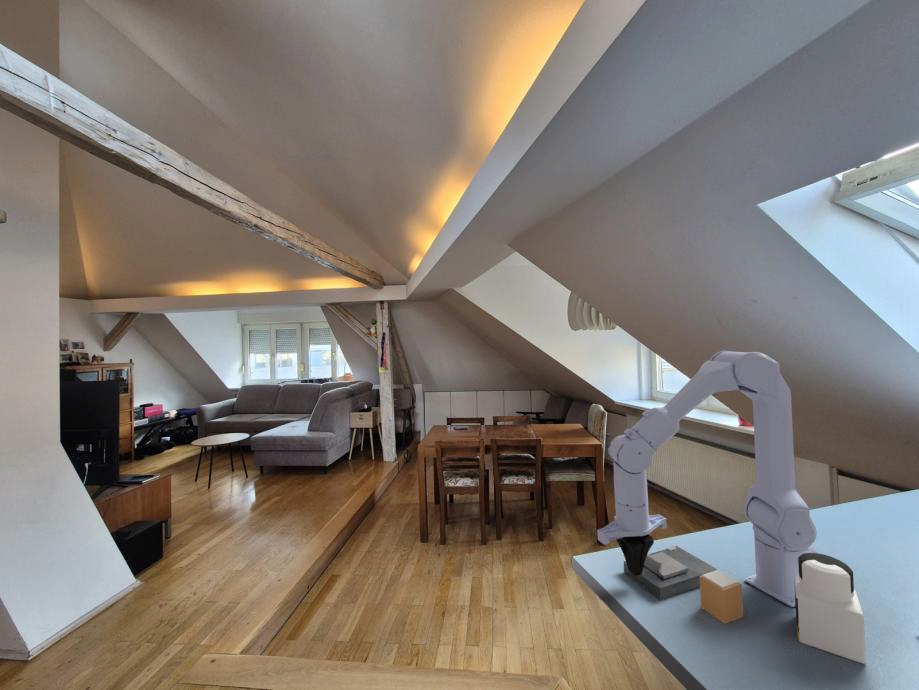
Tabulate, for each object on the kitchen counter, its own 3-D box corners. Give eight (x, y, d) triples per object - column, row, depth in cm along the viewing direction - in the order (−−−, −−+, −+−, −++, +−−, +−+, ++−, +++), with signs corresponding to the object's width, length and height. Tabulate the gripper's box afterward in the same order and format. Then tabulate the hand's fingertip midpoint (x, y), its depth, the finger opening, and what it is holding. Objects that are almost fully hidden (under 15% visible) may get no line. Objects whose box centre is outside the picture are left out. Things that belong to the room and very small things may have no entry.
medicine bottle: (795, 614, 63) (792, 542, 63) (857, 633, 59) (854, 556, 58) (798, 642, 58) (794, 564, 57) (866, 666, 53) (862, 580, 53)
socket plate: (677, 556, 81) (676, 544, 81) (717, 580, 73) (717, 567, 73) (624, 572, 77) (623, 560, 77) (660, 600, 68) (659, 586, 68)
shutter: (662, 554, 78) (661, 542, 78) (688, 571, 72) (687, 558, 72) (639, 561, 76) (638, 549, 76) (663, 579, 70) (663, 565, 70)
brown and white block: (718, 600, 67) (717, 568, 67) (743, 616, 63) (741, 582, 63) (701, 607, 66) (699, 574, 66) (724, 624, 62) (722, 588, 62)
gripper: (645, 486, 78) (648, 552, 78) (585, 500, 73) (589, 569, 73) (674, 499, 71) (678, 571, 71) (610, 515, 67) (615, 592, 67)
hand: (635, 572), depth 72 cm, fingers closed
